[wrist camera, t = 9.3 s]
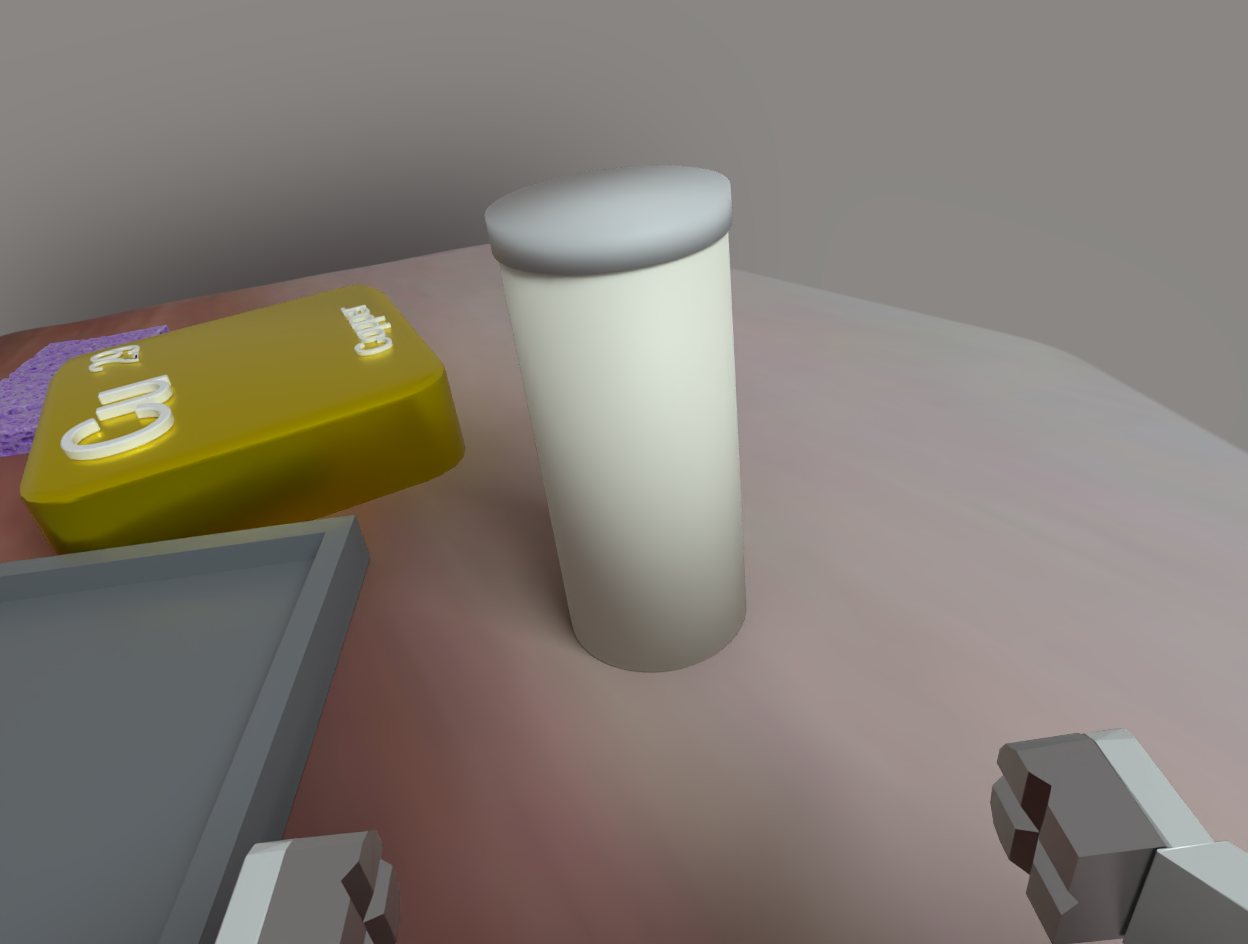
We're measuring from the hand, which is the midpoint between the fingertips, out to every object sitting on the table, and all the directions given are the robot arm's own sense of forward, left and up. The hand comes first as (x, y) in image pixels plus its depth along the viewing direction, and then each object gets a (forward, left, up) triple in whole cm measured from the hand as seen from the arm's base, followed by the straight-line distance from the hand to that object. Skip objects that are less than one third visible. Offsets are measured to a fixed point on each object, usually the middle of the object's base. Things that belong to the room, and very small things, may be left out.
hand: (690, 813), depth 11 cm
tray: (+9, +17, -7) cm, 20 cm away
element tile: (+26, +16, -8) cm, 31 cm away
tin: (+12, 0, -7) cm, 14 cm away
